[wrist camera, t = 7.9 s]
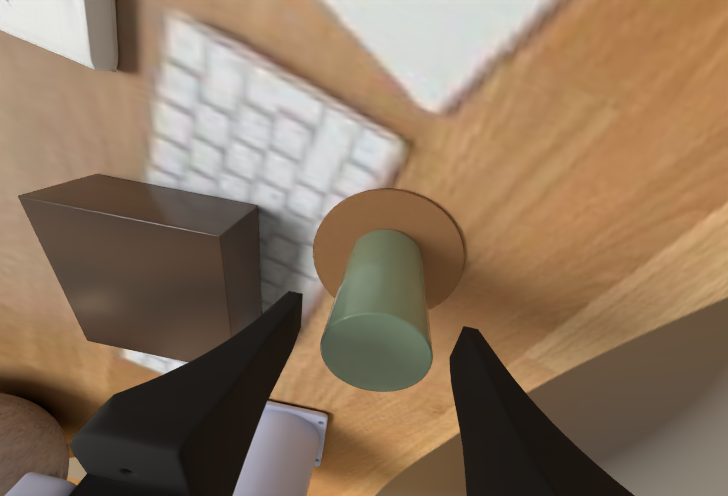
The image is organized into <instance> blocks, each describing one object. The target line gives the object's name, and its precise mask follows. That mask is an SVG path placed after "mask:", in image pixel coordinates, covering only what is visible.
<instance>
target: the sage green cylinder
mask: <svg viewBox="0 0 728 496" xmlns="http://www.w3.org/2000/svg"><path fill="white" fill-rule="evenodd" d="M320 350H321V355H322V358H323V361H324V362H325V364H326V366H327V367H328V369H329V370H330V371H331V372H332V373H333V374H334V375H335V376H337V377H338V378H339V379H341V380H342V381H344V382H346V383H348V384H350V385H352V386H354V387H357V388H360V389H364V390H369V391H376V392H390V391H397V390H402V389H405V388H408V387H410V386H412V385H414V384H416V383H418V382H419V381H420V380H422V379H423V378H424V377H425V375H426V374H427V373H428V371H429V369H430V367H431V364H432V360H433V352H432V342H431V332H430V323H429V313H428V304H427V294H426V284H425V275H424V265H423V257H422V253H421V251H420V249H419V247H418V245H417V244H416V243H415V242H414V241H413V240H412V239H411V238H410V237H408V236H407V235H405V234H403V233H401V232H398V231H394V230H388V229H382V230H375V231H372V232H369V233H367V234H365V235H363V236H362V237H360V238H359V239H358V240H357V241H356V242H355V244H354V245H353V247H352V249H351V251H350V254H349V257H348V260H347V263H346V266H345V269H344V272H343V275H342V278H341V281H340V284H339V287H338V290H337V293H336V296H335V299H334V302H333V305H332V308H331V311H330V314H329V317H328V320H327V323H326V326H325V329H324V332H323V335H322V338H321V343H320Z"/></svg>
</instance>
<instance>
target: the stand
mask: <svg viewBox="0 0 728 496" xmlns="http://www.w3.org/2000/svg"><path fill="white" fill-rule="evenodd" d="M18 197H19V200H20V202H21V204H22V206H23V208H24V210H25V212H26V214H27V216H28V218H29V220H30V222H31V225H32V227H33V229H34V231H35V233H36V235H37V237H38V239H39V241H40V243H41V245H42V247H43V249H44V252H45V254H46V256H47V258H48V260H49V262H50V264H51V266H52V268H53V270H54V272H55V274H56V276H57V279H58V281H59V283H60V285H61V287H62V289H63V291H64V293H65V295H66V297H67V299H68V301H69V304H70V306H71V308H72V310H73V312H74V314H75V316H76V318H77V320H78V322H79V324H80V326H81V328H82V331H83V333H84V335H85V337H86V339H87V341H91V342H96V343H101V344H105V345H110V346H115V347H119V348H124V349H129V350H133V351H138V352H143V353H147V354H152V355H157V356H161V357H166V358H171V359H175V360H180V361H185V362H191V361H193V360H194V359H196V358H198V357H200V356H202V355H203V354H205V353H207V352H209V351H210V350H212V349H214V348H215V347H217V346H219V345H220V344H222V343H223V342H225V341H227V340H228V339H230V338H231V337H233V336H234V335H235V334H237V333H238V332H240V331H241V330H242V329H244V328H245V327H246V326H248V325H249V324H250V323H252V322H253V321H254V320H256V319H257V318H258V317H259V316H261V315H262V304H261V277H260V251H259V224H258V206H257V205H253V204H247V203H242V202H237V201H232V200H227V199H222V198H217V197H211V196H206V195H201V194H196V193H191V192H186V191H180V190H175V189H170V188H165V187H160V186H155V185H149V184H144V183H139V182H134V181H129V180H124V179H118V178H113V177H108V176H103V175H98V174H94V175H91V176H87V177H84V178H80V179H76V180H73V181H69V182H66V183H62V184H59V185H55V186H51V187H48V188H44V189H41V190H37V191H33V192H30V193H26V194H23V195H19V196H18Z"/></svg>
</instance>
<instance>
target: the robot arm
mask: <svg viewBox="0 0 728 496" xmlns="http://www.w3.org/2000/svg"><path fill="white" fill-rule="evenodd" d="M302 296H303V294H301V293H296V292H291V291H289V292H287V293H286V294H285V295H284V296H283V297H281V298H280V299H279V300H278V301H277V302H276V303H275V304H274V305H273V306H271V307H270V308H269V309H268V310H267V311H265V312H264V313H263V314H262V315H261V316H259V317H258V318H257V319H256V320H254V321H253V322H252V323H250V324H249V325H248V326H246V327H245V328H244V329H242V330H241V331H240V332H238V333H237V334H235V335H234V336H233V337H231V338H230V339H228V340H227V341H225V342H223V343H222V344H220V345H219V346H217V347H215V348H214V349H212V350H210V351H209V352H207V353H205V354H203V355H202V356H200V357H198V358H196V359H194V360H193V361H191V362H189V363H187V364H185V365H183V366H181V367H179V368H176V369H174V370H172V371H170V372H168V373H166V374H164V375H162V376H159V377H157V378H155V379H152V380H150V381H148V382H145V383H143V384H140V385H138V386H135V387H133V388H130V389H128V390H125V391H122V392H120V393H117V394H114V395H113V396H112V397H111V398H110V399H109V400H108V401H107V402H106V403H105V404H104V405H103V406H102V407H101V408H100V409H99V410H98V411H97V412H96V413H95V414H94V415H93V416H92V417H91V418H90V419H89V420H88V422H87V423H86V424H85V425H84V426H83V427H82V428H81V429H80V430H79V431H78V432H77V433H76V434H75V435H74V436H73V437H72V438H71V450H72V452H73V454H74V455H75V457H76V458H77V459H78V461H79V462H80V464H81V465H82V467H83V468H84V469H85V471H86V472H87V474H86V476H85V477H84V478H83V479H82V480H81V482H80V483H79V484H78V485H75V484H74V483H72V482H70V481H67V480H64V479H60V478H56V477H51V476H47V475H43V474H38V473H34V472H30V473H27V474H25V475H24V476H23V477H22V478H21V479H20V481H19V482H18V483H17V484H16V485H15V486H14V487H13V488H12V489H11V490H10V491H9V492H8V493H7V494H6V495H5V496H307V492H308V488H309V484H310V479H311V475H312V471H313V467H319V466H320V464H321V459H322V453H323V446H324V440H325V434H326V427H327V421H328V415H327V414H325V413H322V412H318V411H313V410H308V409H304V408H299V407H295V406H290V405H285V404H281V403H276V402H271V401H268V399H269V397H270V394H271V392H272V390H273V388H274V386H275V384H276V382H277V380H278V378H279V376H280V374H281V372H282V370H283V368H284V366H285V364H286V362H287V360H288V358H289V356H290V354H291V352H292V350H293V347H294V345H295V342H296V339H297V336H298V333H299V331H300V328H301V313H302ZM450 374H451V384H452V390H453V395H454V401H455V406H456V411H457V417H458V422H459V427H460V433H461V439H462V445H463V455H464V466H465V477H466V491H467V496H634V495H633V494H632V493H630V492H629V491H628V490H627V489H625V488H624V487H623V486H622V485H620V484H619V483H618V482H617V481H615V480H614V479H613V478H612V477H611V476H610V475H608V474H607V473H606V472H605V471H604V470H602V469H601V468H600V467H599V466H598V465H597V464H596V463H594V462H593V461H592V460H591V459H590V458H589V457H588V456H587V455H586V454H584V453H583V452H582V451H581V450H580V449H579V448H578V447H577V446H576V445H575V444H573V442H572V441H571V440H569V439H568V438H567V437H566V436H565V435H564V434H563V433H562V432H561V431H560V430H559V429H558V428H557V427H556V426H555V425H554V424H553V423H552V422H551V421H550V420H549V419H548V418H547V416H546V415H545V414H544V413H543V412H542V411H541V410H540V409H539V408H538V407H537V406H536V405H535V403H534V402H533V401H532V400H531V399H530V398H529V397H528V395H527V394H526V393H525V392H524V390H523V389H522V388H521V387H520V386H519V384H518V383H517V382H516V381H515V379H514V378H513V377H512V376H511V374H510V373H509V372H508V370H507V369H506V368H505V366H504V365H503V364H502V362H501V361H500V360H499V358H498V357H497V355H496V354H495V353H494V351H493V350H492V348H491V347H490V346H489V344H488V343H487V341H486V340H485V338H484V337H483V336H482V334H481V333H480V332H479V330H478V329H475V328H470V327H465V326H464V327H463V329H462V331H461V334H460V336H459V338H458V340H457V343H456V345H455V347H454V349H453V351H452V354H451V356H450Z"/></svg>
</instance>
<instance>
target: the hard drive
mask: <svg viewBox="0 0 728 496" xmlns="http://www.w3.org/2000/svg"><path fill="white" fill-rule="evenodd" d="M0 30H1V31H3V32H6V33H8V34H11V35H13V36H15V37H18V38H20V39H23V40H25V41H27V42H30V43H32V44H34V45H37V46H39V47H42V48H44V49H46V50H49V51H51V52H53V53H56V54H59V55H61V56H63V57H66V58H68V59H71V60H73V61H75V62H78V63H80V64H82V65H84V66H87V67H89V68H92V69H94V70H103V71H113V72H115V71H116V69H117V65H118V41H117V24H116V6H115V0H0Z"/></svg>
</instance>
